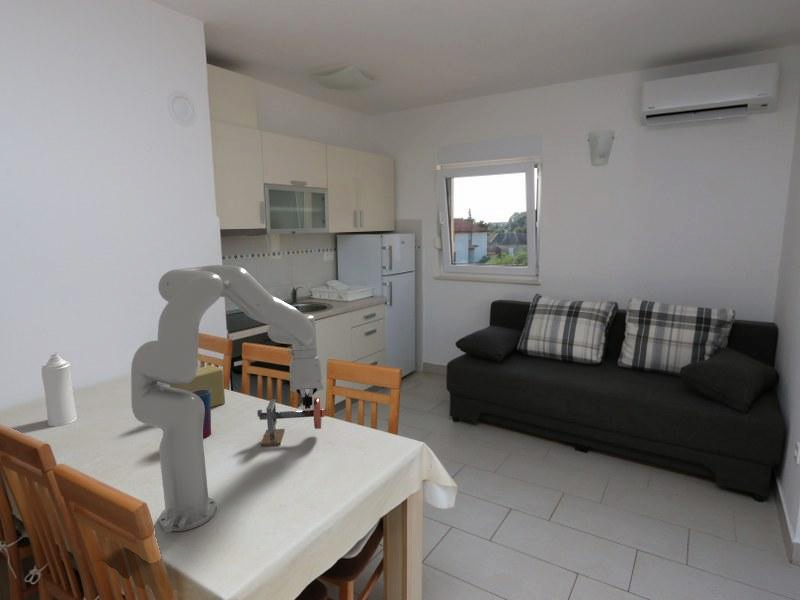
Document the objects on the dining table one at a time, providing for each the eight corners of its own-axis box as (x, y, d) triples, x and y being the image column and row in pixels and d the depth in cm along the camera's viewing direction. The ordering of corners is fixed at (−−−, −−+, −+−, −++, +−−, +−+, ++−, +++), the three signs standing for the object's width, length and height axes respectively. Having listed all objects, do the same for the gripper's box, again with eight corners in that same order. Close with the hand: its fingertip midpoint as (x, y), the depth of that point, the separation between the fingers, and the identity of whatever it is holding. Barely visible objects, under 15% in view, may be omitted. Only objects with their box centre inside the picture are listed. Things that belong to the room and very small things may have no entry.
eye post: (280, 445, 148) (278, 409, 146) (261, 446, 148) (258, 410, 146) (284, 431, 158) (282, 397, 156) (266, 432, 157) (264, 398, 155)
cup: (206, 440, 152) (202, 397, 150) (187, 439, 154) (183, 395, 151) (218, 431, 159) (214, 389, 156) (200, 430, 160) (196, 388, 158)
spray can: (36, 423, 168) (26, 356, 164) (65, 412, 178) (56, 348, 174) (59, 427, 164) (49, 359, 160) (88, 415, 174) (79, 350, 170)
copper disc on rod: (324, 433, 149) (322, 404, 147) (256, 437, 147) (254, 407, 145) (325, 420, 159) (324, 392, 157) (262, 424, 157) (260, 396, 155)
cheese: (171, 424, 166) (167, 383, 163) (158, 417, 171) (153, 378, 169) (226, 404, 183) (223, 367, 181) (212, 398, 189) (209, 363, 187)
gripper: (279, 357, 145) (283, 413, 148) (328, 355, 146) (330, 410, 149) (282, 351, 152) (286, 404, 155) (329, 348, 154) (331, 401, 157)
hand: (307, 407), depth 152 cm, fingers closed
